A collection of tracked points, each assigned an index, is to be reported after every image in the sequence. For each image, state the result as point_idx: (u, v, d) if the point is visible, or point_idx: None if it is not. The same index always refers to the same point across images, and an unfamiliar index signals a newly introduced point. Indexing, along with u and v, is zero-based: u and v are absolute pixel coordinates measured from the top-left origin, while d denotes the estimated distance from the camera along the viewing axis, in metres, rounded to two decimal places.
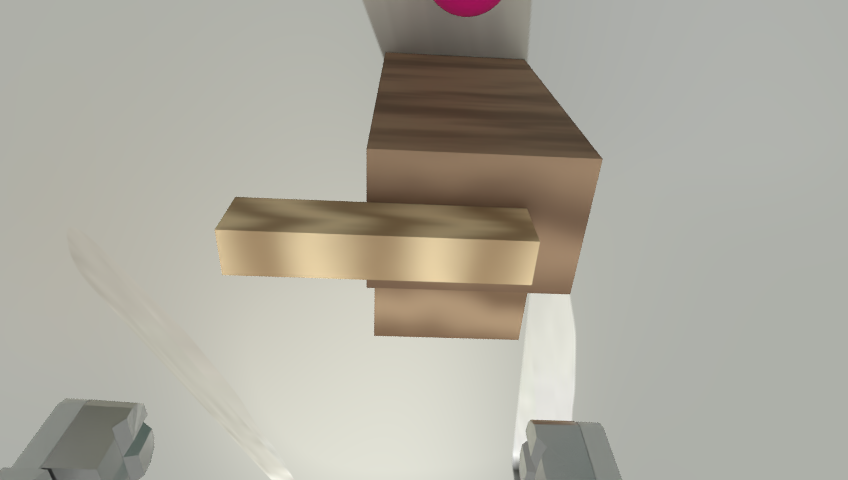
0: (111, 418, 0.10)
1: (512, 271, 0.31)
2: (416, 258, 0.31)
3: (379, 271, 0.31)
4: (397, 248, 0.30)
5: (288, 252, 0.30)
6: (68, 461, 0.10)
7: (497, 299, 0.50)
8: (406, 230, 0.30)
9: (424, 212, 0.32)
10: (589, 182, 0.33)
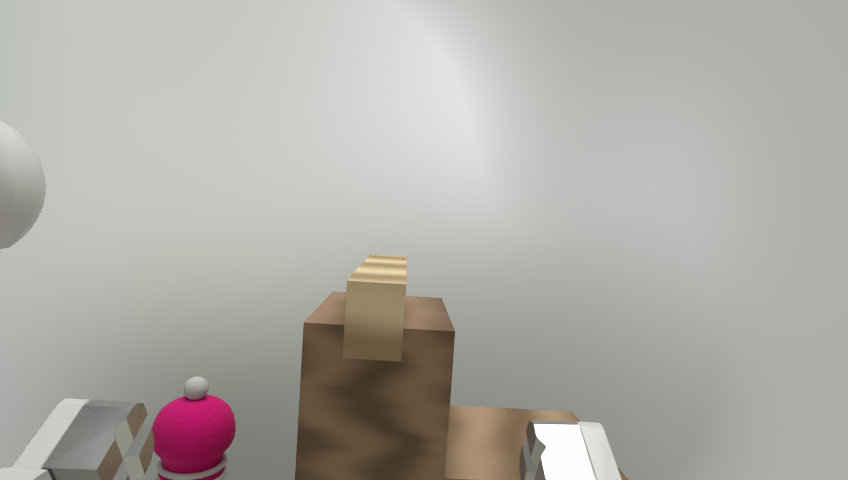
0: (111, 418, 0.10)
1: (394, 256, 0.44)
2: (384, 262, 0.38)
3: (397, 266, 0.36)
4: (374, 263, 0.37)
5: (377, 273, 0.31)
6: (68, 461, 0.10)
7: (527, 420, 0.48)
8: None
9: None
10: None
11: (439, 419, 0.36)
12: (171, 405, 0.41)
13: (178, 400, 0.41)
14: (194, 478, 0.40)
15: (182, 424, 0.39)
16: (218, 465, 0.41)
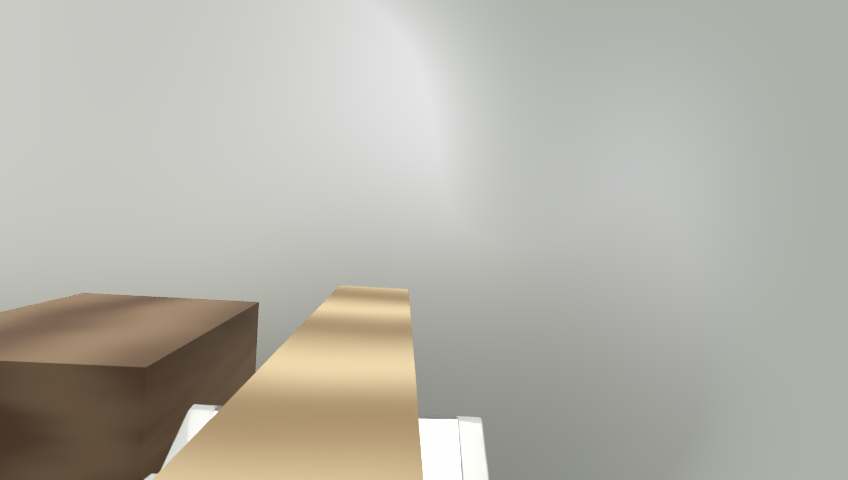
0: None
1: (385, 291, 0.22)
2: (360, 314, 0.17)
3: (389, 329, 0.15)
4: (336, 319, 0.16)
5: (322, 383, 0.10)
6: None
7: None
8: None
9: None
10: (106, 295, 0.31)
11: None
12: None
13: None
14: None
15: None
16: None
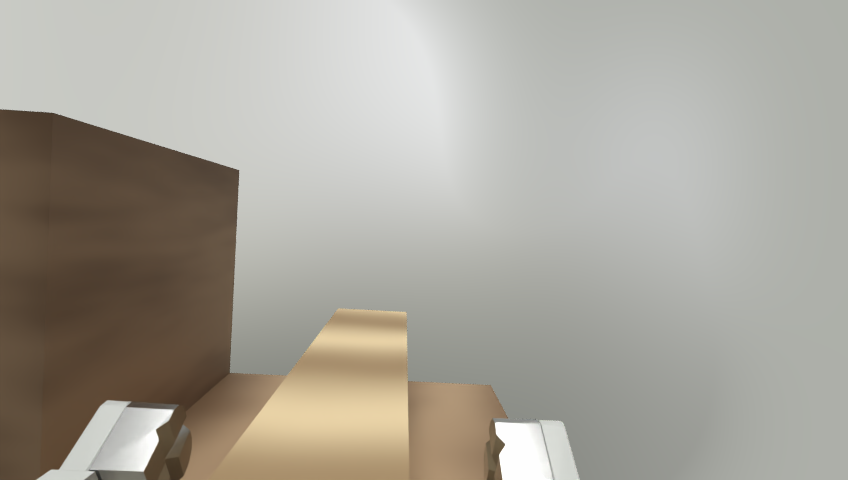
0: (154, 420, 0.10)
1: (383, 316, 0.22)
2: (357, 347, 0.17)
3: (384, 366, 0.15)
4: (332, 354, 0.16)
5: (314, 441, 0.10)
6: (114, 463, 0.10)
7: None
8: None
9: None
10: None
11: (15, 373, 0.12)
12: None
13: None
14: None
15: None
16: None
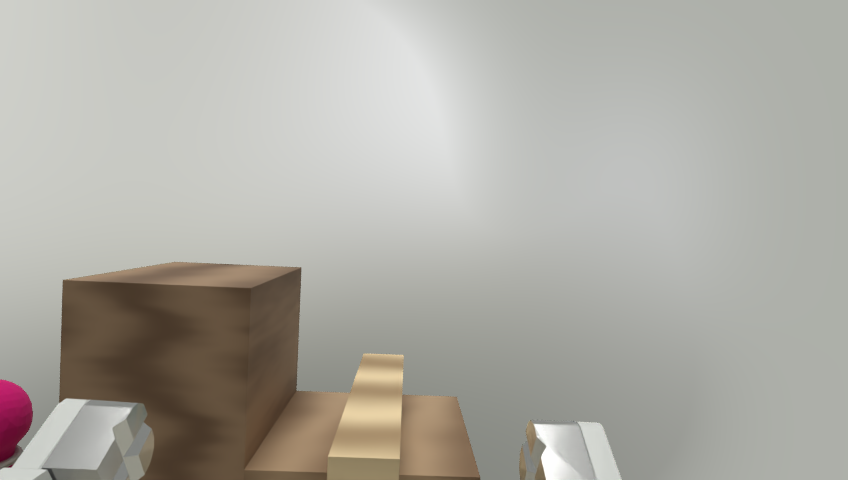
0: (111, 418, 0.10)
1: (390, 358, 0.39)
2: (377, 380, 0.34)
3: (391, 391, 0.32)
4: (366, 385, 0.33)
5: (366, 423, 0.26)
6: (68, 461, 0.10)
7: None
8: None
9: None
10: (192, 263, 0.42)
11: (235, 397, 0.29)
12: None
13: None
14: None
15: None
16: (1, 462, 0.34)
